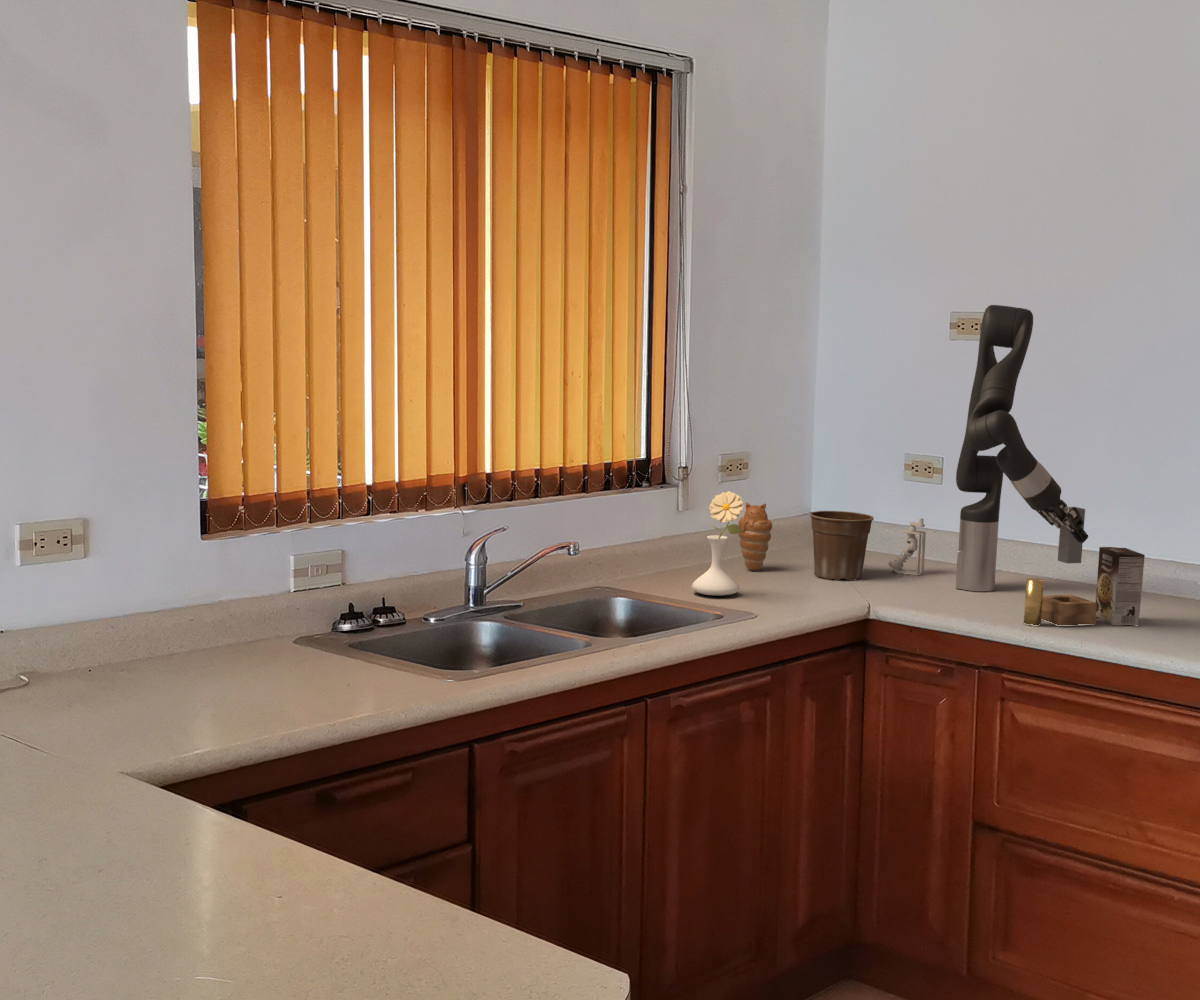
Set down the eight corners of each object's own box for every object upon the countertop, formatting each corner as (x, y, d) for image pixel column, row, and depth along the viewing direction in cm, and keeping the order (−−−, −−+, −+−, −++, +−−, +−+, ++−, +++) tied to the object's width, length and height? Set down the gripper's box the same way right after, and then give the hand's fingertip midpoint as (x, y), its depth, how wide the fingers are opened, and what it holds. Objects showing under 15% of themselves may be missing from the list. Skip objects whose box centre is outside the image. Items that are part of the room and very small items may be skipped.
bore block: (1059, 626, 287) (1061, 604, 286) (1035, 617, 295) (1036, 596, 294) (1095, 625, 289) (1096, 602, 288) (1070, 616, 298) (1071, 594, 297)
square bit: (1067, 563, 288) (1071, 509, 287) (1057, 560, 292) (1061, 506, 290) (1081, 563, 289) (1085, 509, 288) (1071, 560, 293) (1075, 506, 291)
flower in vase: (681, 593, 313) (684, 489, 310) (711, 587, 321) (714, 486, 318) (725, 602, 304) (729, 495, 301) (754, 595, 313) (758, 491, 309)
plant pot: (880, 576, 342) (883, 514, 340) (856, 585, 329) (860, 521, 327) (821, 568, 351) (824, 508, 349) (796, 577, 338) (799, 515, 335)
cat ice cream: (735, 572, 343) (737, 503, 340) (738, 567, 350) (741, 500, 348) (769, 574, 341) (772, 505, 338) (772, 569, 348) (774, 501, 346)
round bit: (1023, 625, 287) (1026, 580, 286) (1023, 622, 291) (1026, 577, 289) (1041, 626, 286) (1044, 581, 285) (1040, 623, 290) (1043, 578, 288)
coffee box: (1093, 617, 298) (1098, 546, 296) (1120, 617, 298) (1125, 546, 296) (1111, 626, 289) (1117, 553, 287) (1140, 626, 289) (1145, 553, 287)
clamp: (892, 569, 352) (895, 514, 350) (926, 574, 347) (929, 517, 345) (885, 571, 349) (888, 515, 347) (919, 576, 343) (923, 519, 341)
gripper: (1066, 475, 279) (1110, 531, 284) (1027, 468, 292) (1070, 521, 297) (1042, 501, 278) (1087, 556, 283) (1004, 492, 292) (1048, 545, 297)
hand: (1078, 538), depth 290 cm, fingers closed on square bit, 3 cm apart
